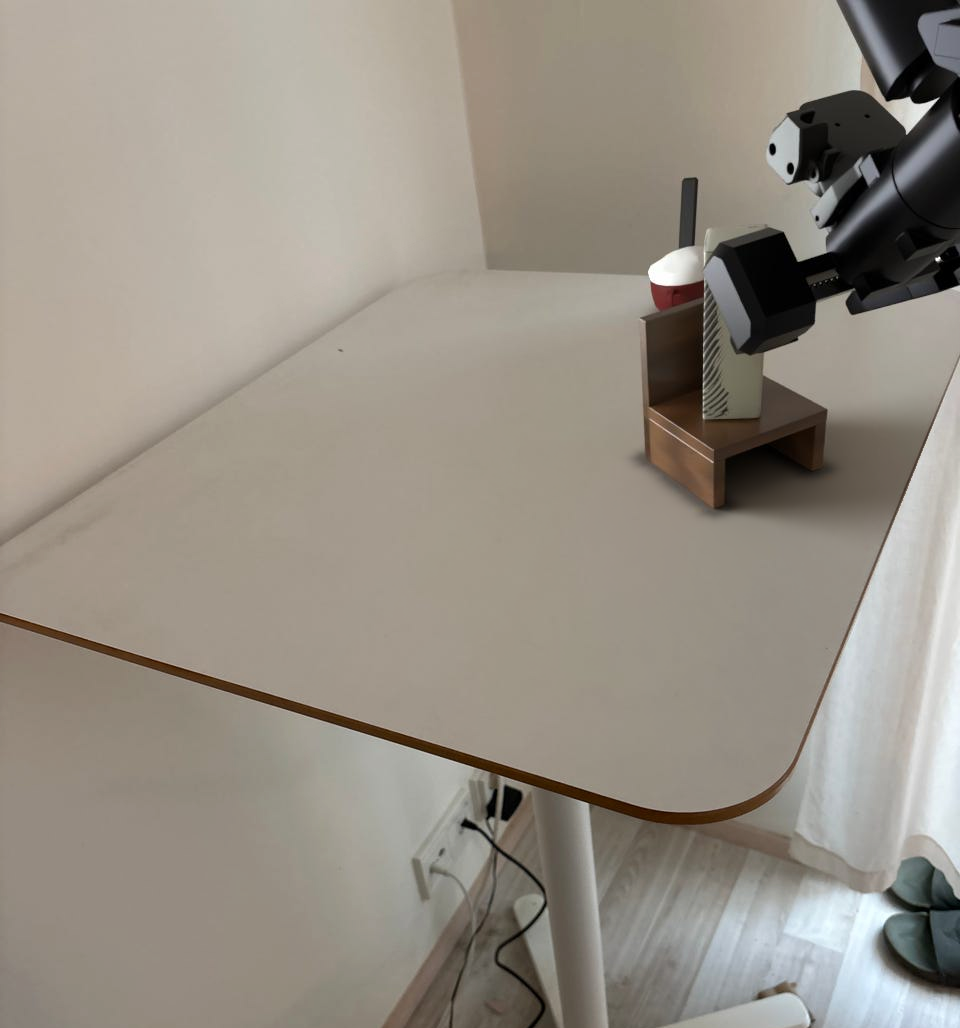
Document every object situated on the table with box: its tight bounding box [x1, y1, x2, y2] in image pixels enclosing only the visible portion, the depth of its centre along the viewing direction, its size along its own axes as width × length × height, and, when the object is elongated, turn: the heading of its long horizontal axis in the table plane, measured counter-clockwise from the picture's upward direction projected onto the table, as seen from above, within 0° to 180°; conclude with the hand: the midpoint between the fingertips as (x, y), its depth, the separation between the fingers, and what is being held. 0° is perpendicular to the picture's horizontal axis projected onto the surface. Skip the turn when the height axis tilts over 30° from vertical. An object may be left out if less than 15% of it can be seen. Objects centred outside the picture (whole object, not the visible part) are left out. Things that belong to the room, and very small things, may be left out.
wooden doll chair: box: [638, 297, 829, 509], centre depth 73 cm, size 10×10×12 cm
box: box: [703, 223, 769, 419], centre depth 70 cm, size 5×4×13 cm
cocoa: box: [647, 176, 704, 312], centre depth 99 cm, size 10×6×12 cm, turn 135°
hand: (793, 327), depth 64 cm, fingers open, 9 cm apart
